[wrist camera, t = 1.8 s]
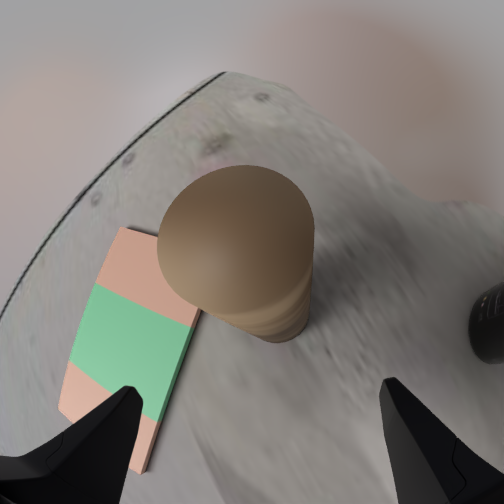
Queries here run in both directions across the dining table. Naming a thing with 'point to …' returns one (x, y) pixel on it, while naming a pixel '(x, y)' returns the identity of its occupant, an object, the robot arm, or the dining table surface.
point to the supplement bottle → (488, 326)
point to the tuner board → (129, 339)
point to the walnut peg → (242, 250)
